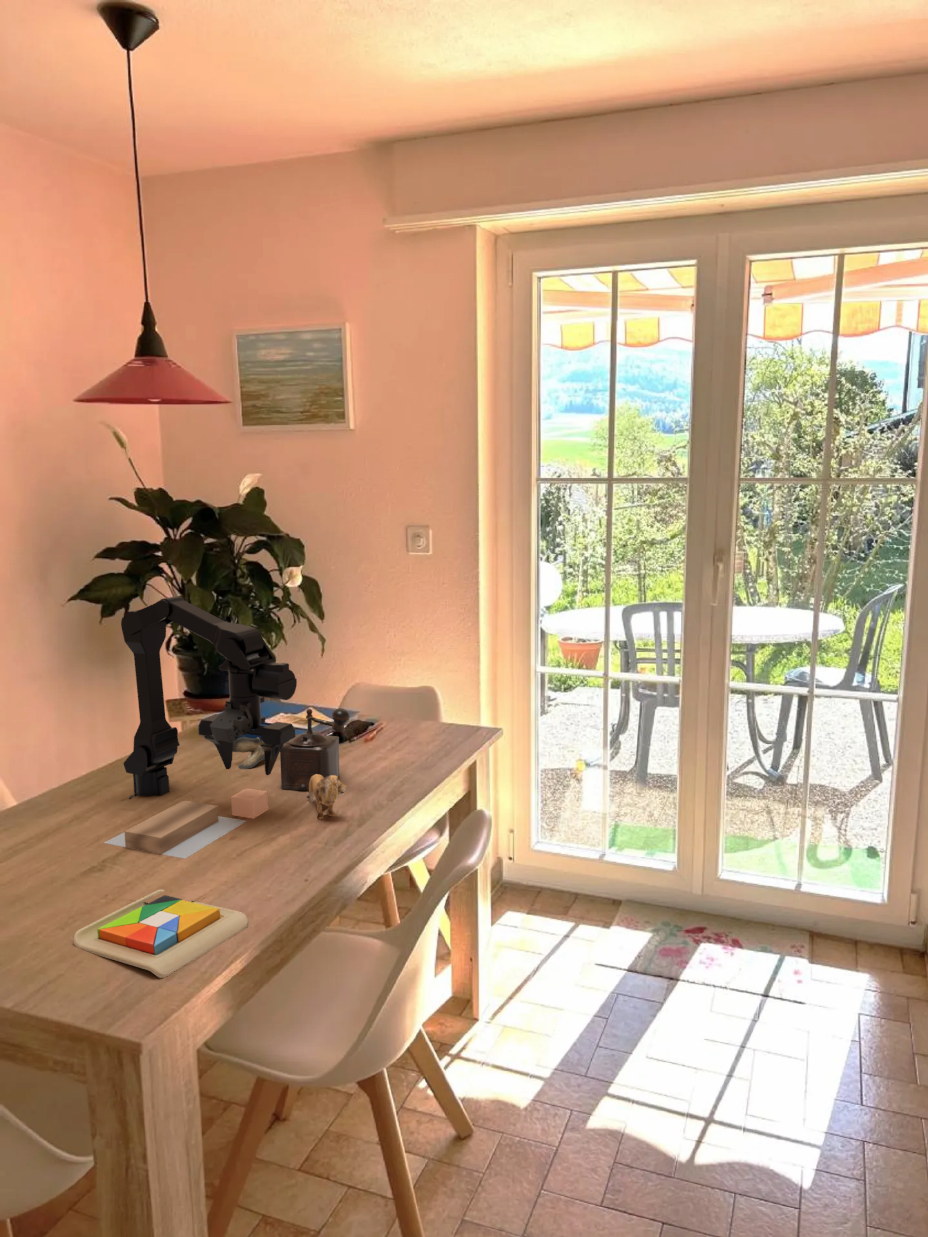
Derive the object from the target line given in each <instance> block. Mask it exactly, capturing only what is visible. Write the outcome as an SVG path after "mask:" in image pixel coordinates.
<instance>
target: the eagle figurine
mask: <svg viewBox="0 0 928 1237" xmlns="http://www.w3.org/2000/svg"><path fill="white" fill-rule="evenodd" d="M263 743H264V742H263V741H262V740H261V738H260V737H258V736H257V737H256V738H252V737H246V736H241V737H238V738H237V740H236V741H234V742H233V753H250V754H249V755H248V757H247V758H246V759H244V760H243V761H242V762H241V763H239V764H238V765H237V768H238V769H239V770H248V769H252V768H254V767H255V766H257V765H258V764H259V763H260V762H261V761H264V760H265V757H264V750H263V748H262V747H261V744H263Z"/></svg>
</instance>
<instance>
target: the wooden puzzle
mask: <svg viewBox="0 0 928 1237" xmlns="http://www.w3.org/2000/svg"><path fill="white" fill-rule="evenodd" d="M164 892H165V889H157V890H155V891H153V892H151V893H149V894H147V895H145V896H143V897H142V898H139V899H137V900H135V901H132V902H131V903H129V904H127V905H125V906H123V907H121V908H118V909H117V910H115V911H113V912H111V913H109V914H107V915H105V916H103V917H101V918H99V919H98V920H96V921H93V922H92V923H90V924H88V925H85V926H84V927H81V928H80V929H77V930H76V932H75V933H74V936H73V944H74V946H75V947H76V948H79V949H80V950H83V951H86V952H88V953H91V954H93V955H96V956H100V957H103V958H106V959H109V960H114V961H116V962H120V963H123V964H126V965H130V966H133V967H136V968H140V969H143V970H146V971H149V972H151V973H152V974H153V975H155V976H156V977H157V978H159V979H164V978H167V977H168V976H170V975H172V974H175V972H174V971H176V970H177V971H179V970H181V969H182V968H184V967H185V966H187V965H189V964H190V963H192V962H194V961H195V960H197V959H199V958H200V957H202V956H203V955H205V954H207V953H208V952H210V951H211V949H212V950H213V949H215V948H216V947H218V946H220V945H221V944H223V943H224V942H226V941H227V940H229V939H231V938H233V937H234V936H236V935H237V934H239V933H241V932H242V931H243V930H246V928H248V925H249V919H248V916H247V915H246V914H245V913H243V912H241V911H239V910H234V909H231V908H230V909H229V908H225V907H221V906H217V905H212V904H207V903H205V902H204V903H203V902H199V901H195V900H191V901H190V900H189V901H187V900H184V899H182V898H179V897H175V896H170V895H166V894H163V895H162V896H160V897H158V898H156V899H154V900H151V901H150V902H147V901H148V900H150V899H152V898H154V897H155V896H158V895H159V894H162V893H164ZM217 945H218V946H217ZM214 947H215V948H214ZM204 953H205V954H204ZM201 955H202V956H201ZM199 956H200V957H199ZM196 958H197V959H196ZM193 960H194V961H193ZM191 961H192V962H191ZM189 962H190V963H189ZM188 963H189V964H188ZM186 964H187V965H186ZM184 965H185V966H184ZM183 966H184V967H183ZM181 967H182V968H181ZM180 968H181V969H180ZM178 969H179V970H178ZM177 971H176V972H177ZM166 976H167V977H166Z"/></svg>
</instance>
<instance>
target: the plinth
mask: <svg viewBox="0 0 928 1237" xmlns="http://www.w3.org/2000/svg"><path fill="white" fill-rule="evenodd" d="M218 816H219V806H218V805H215V804H207V803H203V802H202V803H201V802H197V801H196V802H195V801H190V800H182V801H179V802H177V803H176V804H174V805H172V806H170V807H168V808H167V809H164V810H163V811H161V812H159V813H157V814H155V815H152V816H150V817H148V818H147V819H145V820H143V821H141V822H140V823H138V824H136V825H134V826H131V827H129V828H128V829H126V830H124V831H123V833H124V832H125V846H126V847H127V848H126V847H125V848H126V849H131V848H133V850H136V849H138V851H141V850H143V851H142V852H147V851H148V853H152V852H153V854H157V853H158V854H157V855H162V854H163V853H165V852H166V851H168V850H170V849H171V848H173V847H175V846H177V845H178V844H180V843H182V842H183V841H185V840H187V839H189V838H190V837H192V836H194V835H195V834H197V833H199V832H201V831H202V830H204V829H206V828H207V827H209V826H211V825H213V824H214V823H216V822H218V821H219V819H218Z"/></svg>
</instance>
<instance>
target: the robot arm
mask: <svg viewBox="0 0 928 1237" xmlns="http://www.w3.org/2000/svg"><path fill="white" fill-rule="evenodd" d="M120 622H121V623H120V625H121V626H120V627H121V631H122V635H123V640H124V643H125V644H126V646H127V648H129V649H130V651H131V652H132V654H133V658H134V669H135V670H134V672H135V680H136V692H137V701H138V704H137V705H138V713H139V725H138V727H137V729H136V732H135V734H134V736H133V750H132V752H131V753H130V755H129V756H128V757H127V758H126V759H125V760H124V762H123V766H124V770H125V772H126V773H127V774H132V777H133V780H132V781H133V794H132V795H130V796H128V799H129V800H132V799H134V798H135V797H138V796H140V797H154V796H155V797H162V796H164V795H166V794H168V793H170V778H169V774H168V769H167V766H170V765H172V764H174V760H175V756H176V754H177V753H178V748H179V746H180V741H179V738H178V736H179V734H178V732H179V730H178V728H177V727H176V726H175V727H172V726H171V725H170V724H169V721H167V719H166V709H165V706H166V705H165V697H164V687H163V686H164V685H163V676H162V663H161V649H162V646H164V642H165V640H166V637H167V626H168V625H170V624H172V623H174V624H177V625H178V626H180V627H182V628H184V629H185V630H188V631H190V632H192V634H193V633H194V634H195V635H197V636H199V637H201V638H203V639H204V640H207V641H209V642H210V643H211V644H213V647H214V648H215V650H216V652H217V653H218V654H220V655H221V656H223V657H224V658H225V661H224V662H223V663H221V664H220V665H219V666H218V669H219V670H220V671H227V672H228V688H229V699H228V700H226V701H225V704H224V709H223V712H222V713H219V714H212V715H210V716H208V717H205V718H203V719H201V720H200V721H199V724H198V726H197V728H198V736H203V738H204V739H205V740H208V741H210V742H211V743H212V744H214V746H215V747H216V750H217V753H218V754H219V755H220V759H221V761H222V762H223V765H224V768H225V770H230V769H231V767H232V763H233V753H234V752H233V742H234V741H236V740H237V739H238V738H239V736H241V737H245V736H246V735H253V736H257V737H258V736H260V741H261V742H262V741H263V742H264V743H263V744H261V747H262V748H263V750H264V757H265V759H264V772H265V773H264V774H265V776H270V775H271V774H272V771H273V769H274V766H275V764H276V763H277V762H276V761H277V759H278V757H279V755H280V750H281V749H282V747H283V745H284V743H286V742H288V741H289V740H291V739H293V738H295V735H296V729H295V726H294V725H293V723H288V722H280V721H275V722H273V723H271V724H269V725H262V724H264V723H266V717H265V716H262V707H261V706H262V703H265V698H267V699H273V700H275V699H276V700H280V701H281V700H283V701H288V700H290V699H292V698H293V696H294V694H295V692H296V690H297V684H298V683H297V682H298V681H297V678H296V675H295V673H294V672H293V671H292V670H291V669H290V664H289V663H288V662H287V663H286V662H279V663H278V662H276V658H275V656H274V654H273V653H272V652H271V649H270V648H269V647H268V645H267V643H266V642H265V640H264V638H263V636H262V632H261V631H260V630H259V629H257V628H256V627H253V626H250V625H245V624H243V623H235V622H233V623H232V622H228V621H225V620H223V619H221V618H219V617H217V616H215V615H213V614H211V613H210V612H207V611H206V610H204V609H202V608H200V607H198V606H196V605H194V604H192V603H190V602H188V601H186V600H185V598H183V597H181V596H179V595H176V596H171V597H165V598H160V600H158V601H156V602H155V603H152V604H151V605H148V606H146V607H144V608H141V609H137V610H136V609H135V610H132V611H128V612H126V613H125V614H124V615H123V616H122V617H121V620H120ZM257 656H258V657H257ZM251 658H252V659H251Z"/></svg>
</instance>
